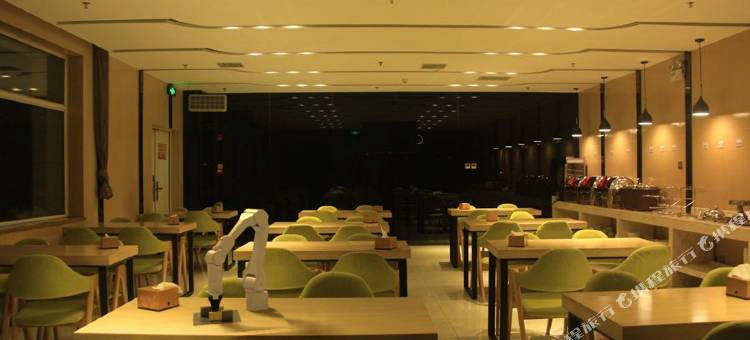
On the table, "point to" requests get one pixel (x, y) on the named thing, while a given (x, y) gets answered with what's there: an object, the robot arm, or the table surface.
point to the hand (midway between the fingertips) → (215, 313)
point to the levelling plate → (205, 320)
